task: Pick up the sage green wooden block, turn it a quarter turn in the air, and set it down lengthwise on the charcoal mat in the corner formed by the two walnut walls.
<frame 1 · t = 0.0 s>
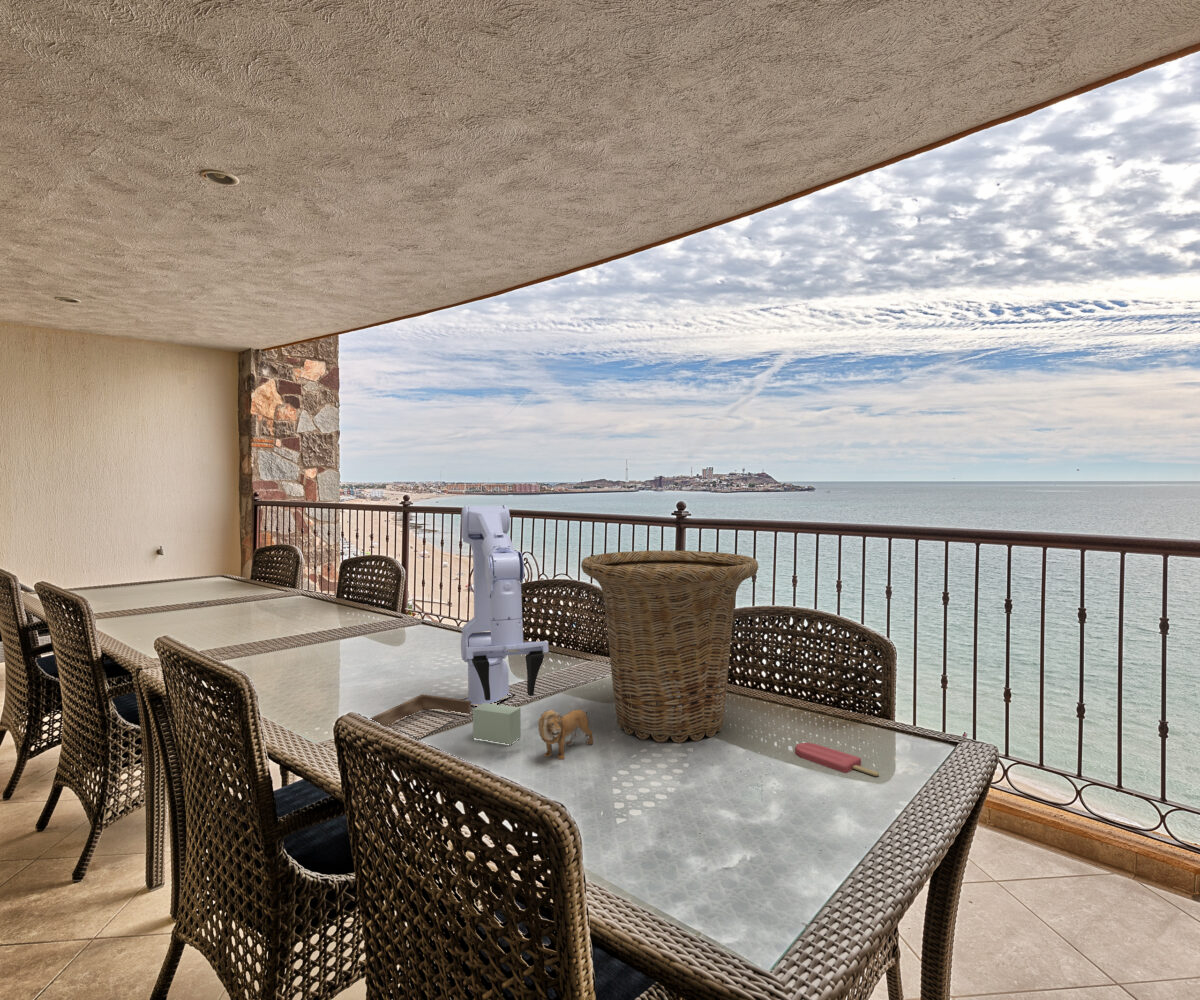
hand: (509, 697, 117), 11 cm above the table, tool pointing down, fingers open, 7 cm apart
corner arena: (423, 727, 132), on the table
wicker basket: (669, 724, 133), on the table
popsicle: (835, 766, 114), on the table
lion figurine: (566, 753, 119), on the table
sage block: (497, 739, 125), on the table
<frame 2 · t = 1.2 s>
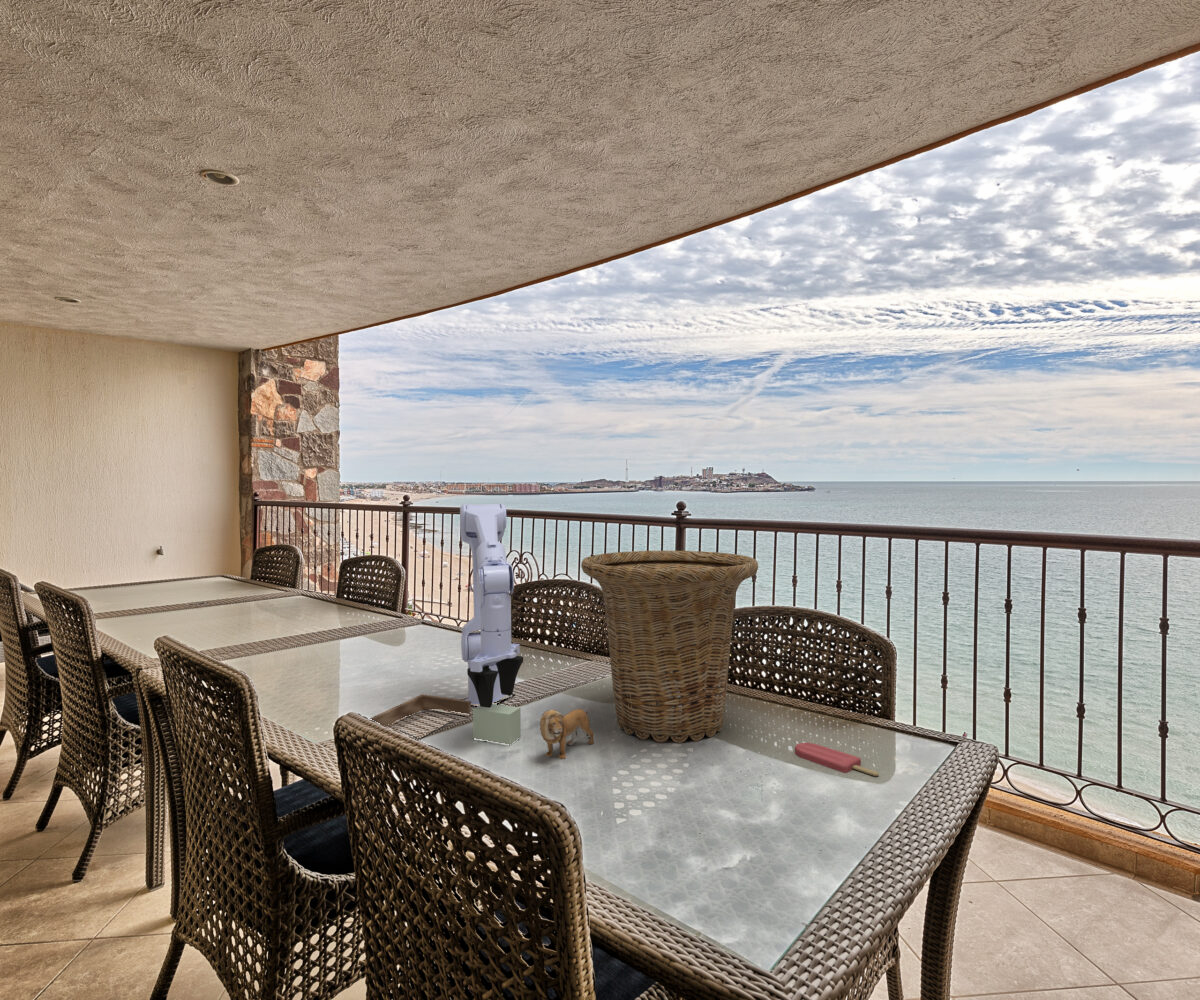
hand: (496, 700, 125), 7 cm above the table, tool pointing down, fingers open, 7 cm apart
nothing on the table moved.
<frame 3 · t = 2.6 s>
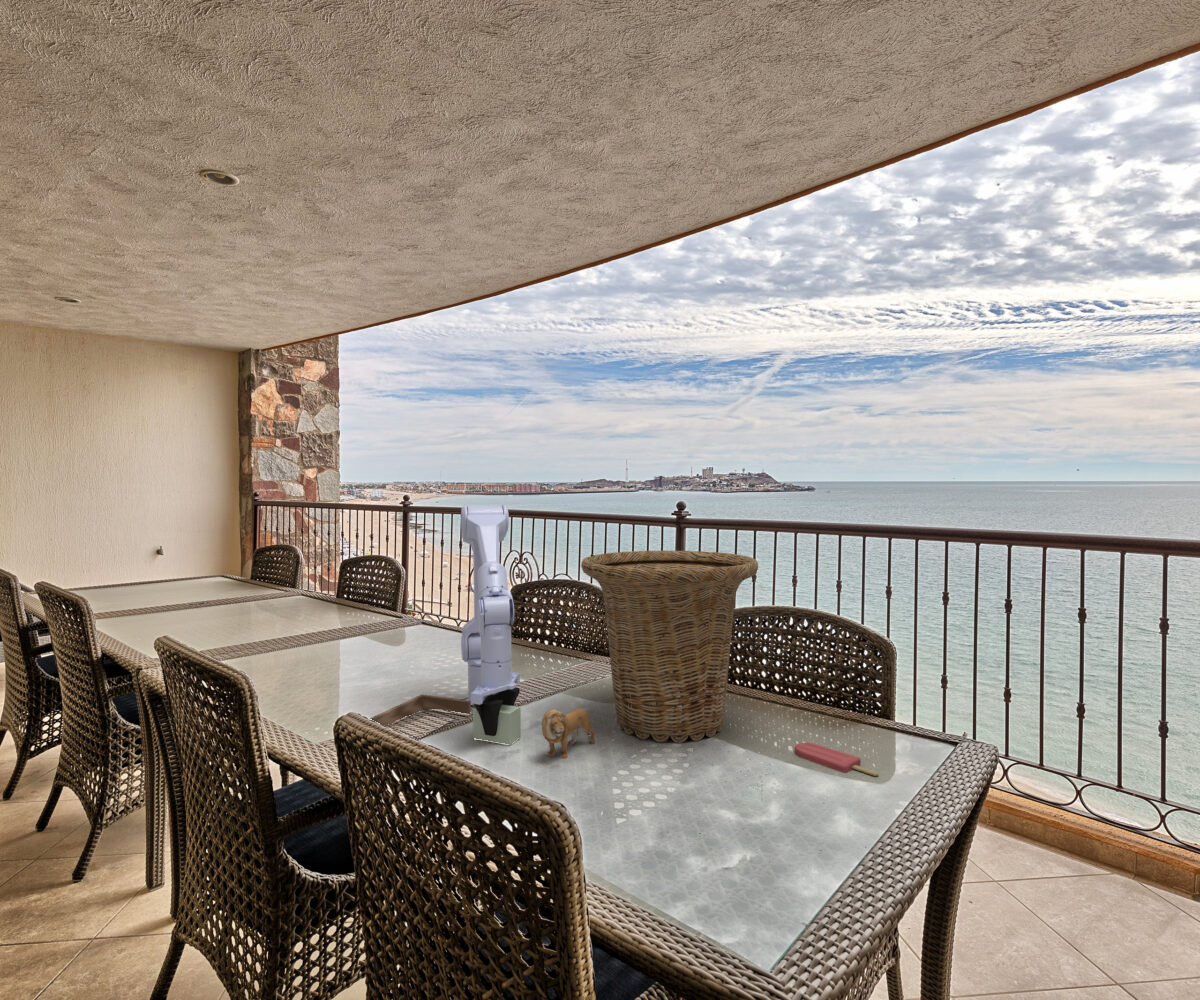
hand: (496, 730, 125), 2 cm above the table, tool pointing down, fingers closed on sage block, 4 cm apart
sage block: (497, 739, 125), on the table, touching gripper
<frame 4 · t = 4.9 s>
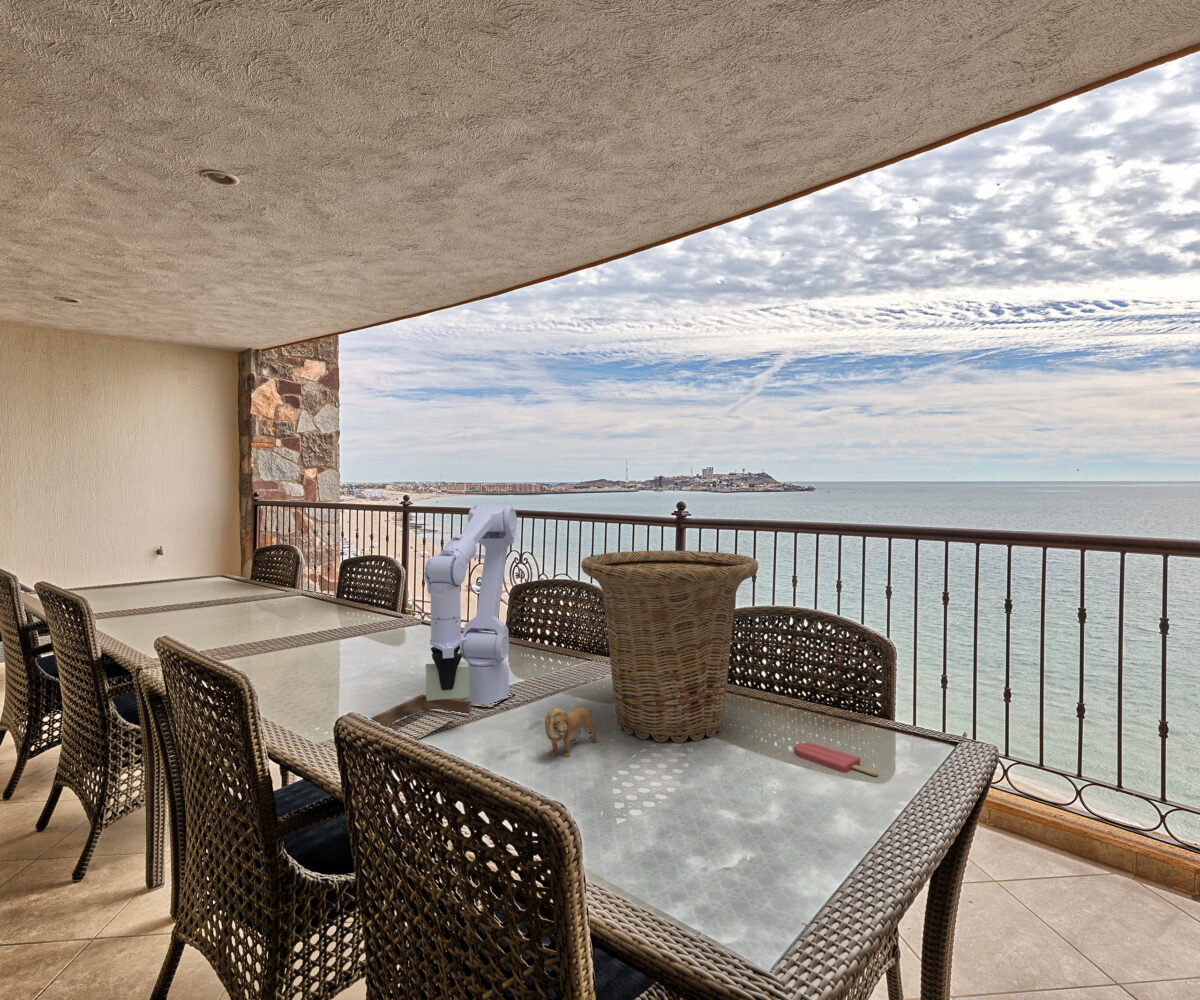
hand: (446, 686, 130), 9 cm above the table, tool pointing down, fingers closed on sage block, 4 cm apart
sage block: (447, 695, 130), point 7 cm above the table, touching gripper
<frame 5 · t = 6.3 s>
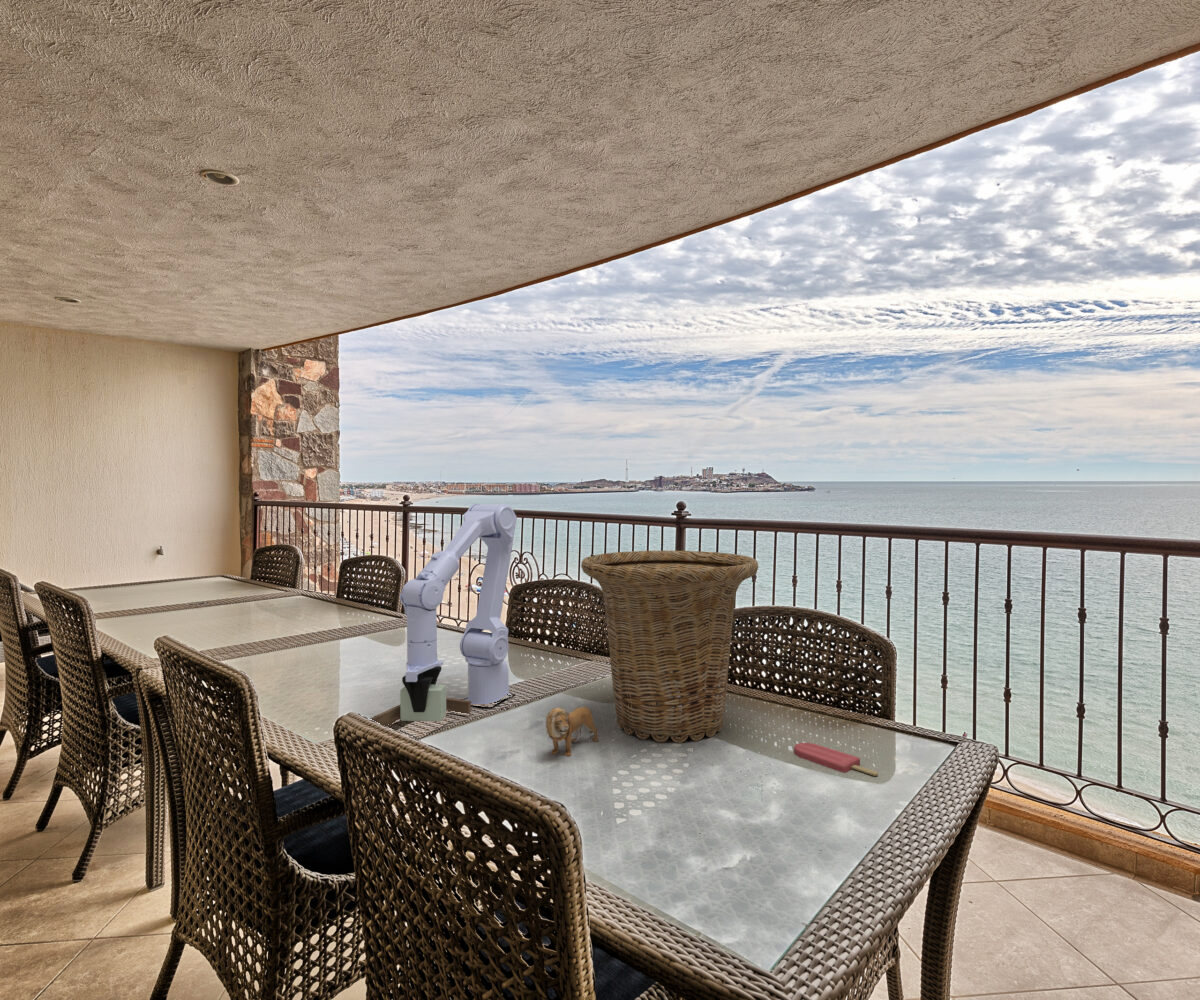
hand: (422, 707, 132), 4 cm above the table, tool pointing down, fingers closed on sage block, 4 cm apart
sage block: (423, 717, 132), point 2 cm above the table, touching gripper
when the fingers open (3 cm above the table, at t = 7.3 s): sage block stays where it is, resting on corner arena.
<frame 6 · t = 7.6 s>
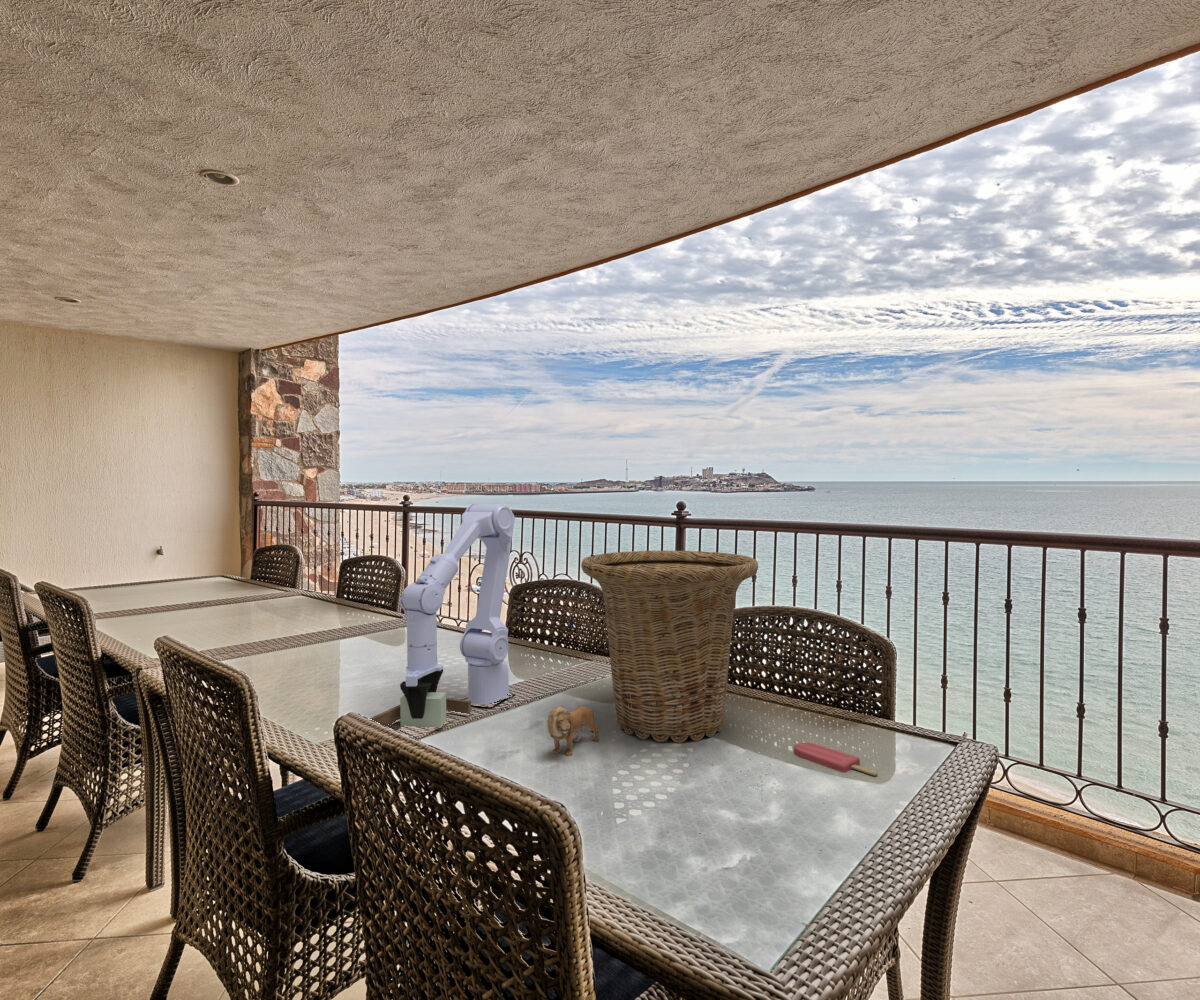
hand: (422, 711, 132), 3 cm above the table, tool pointing down, fingers open, 6 cm apart
sage block: (423, 725, 132), resting on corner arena
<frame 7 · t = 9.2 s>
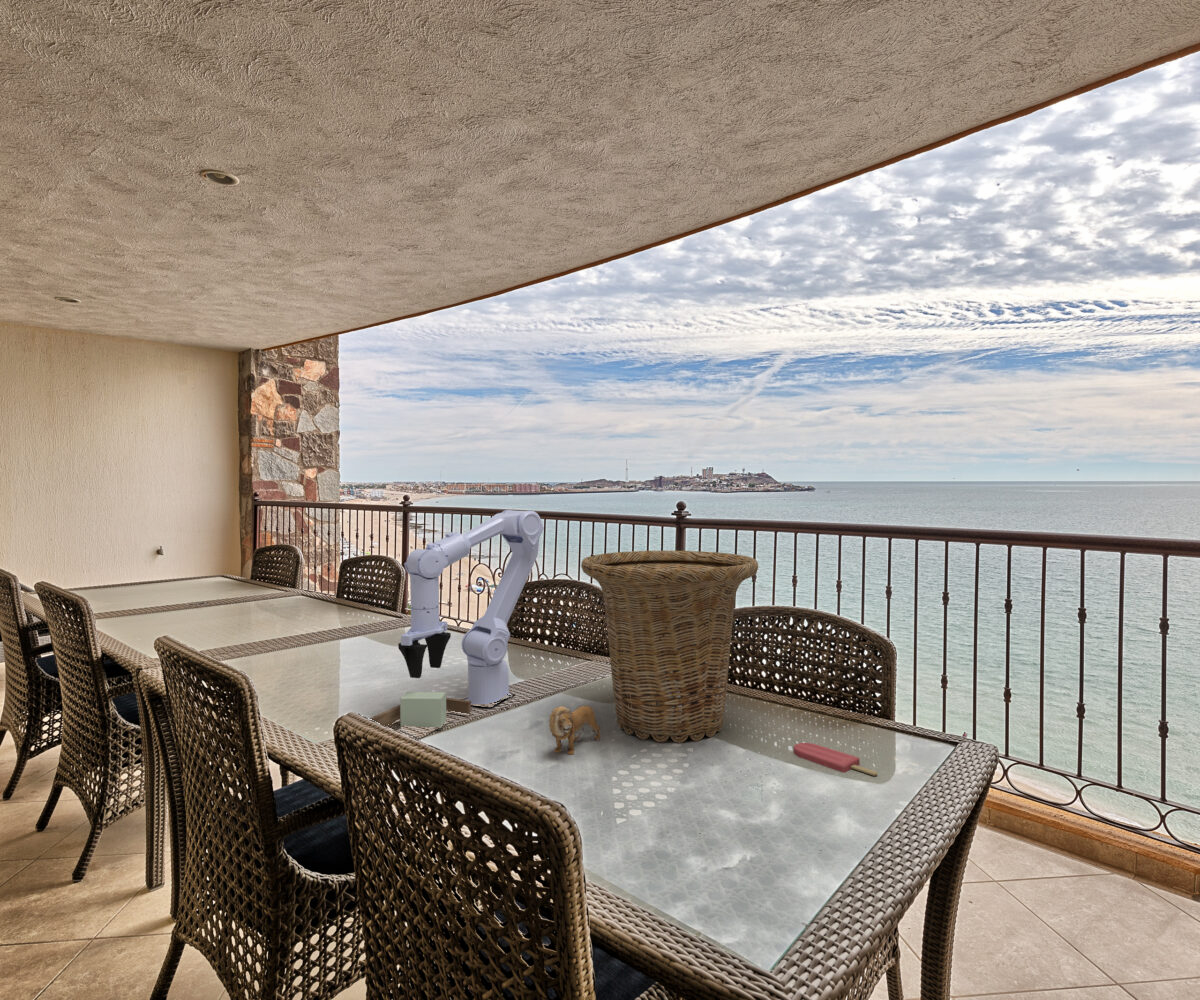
hand: (425, 672, 138), 9 cm above the table, tool pointing down, fingers open, 7 cm apart
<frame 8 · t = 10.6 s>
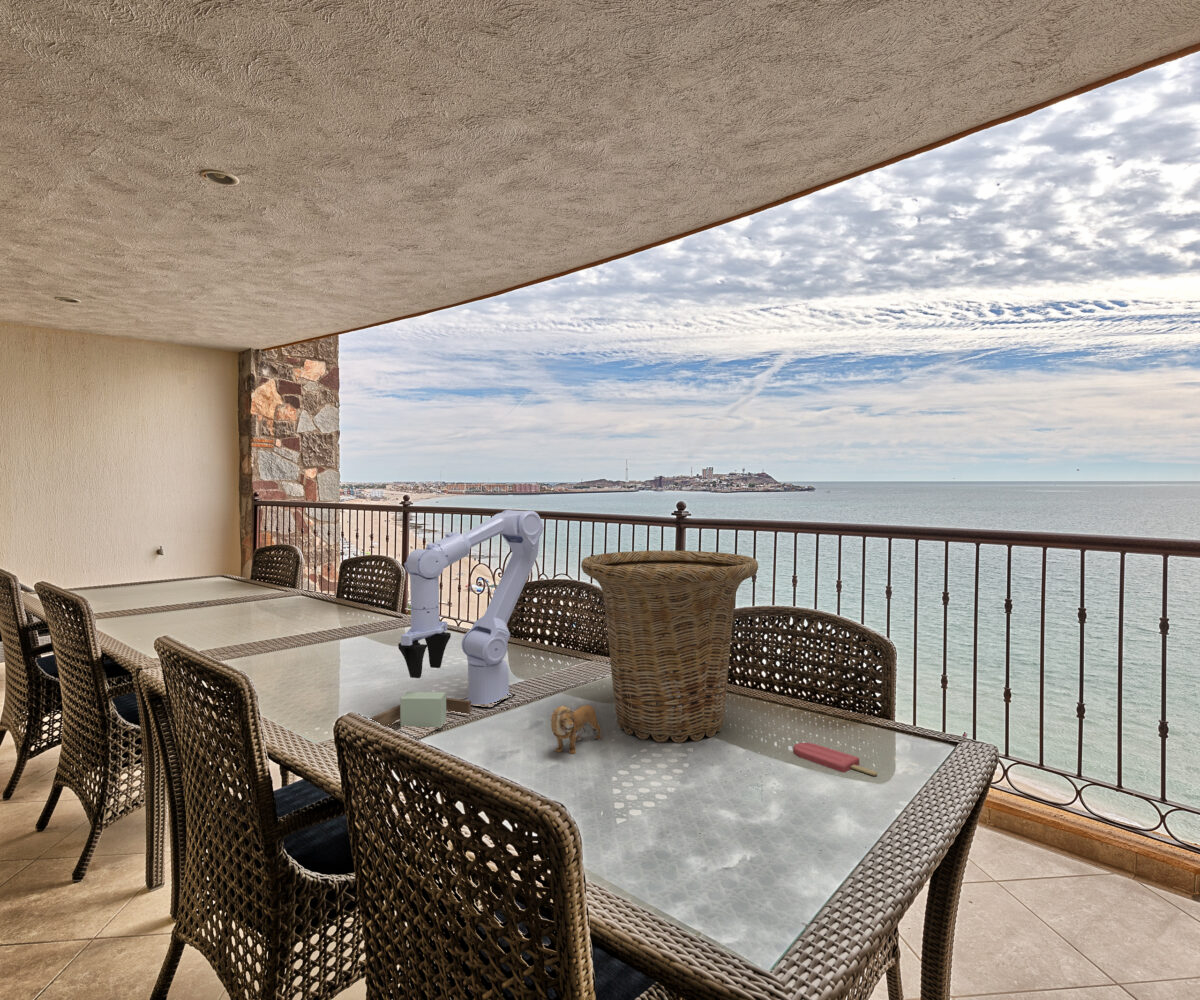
hand: (425, 672, 138), 9 cm above the table, tool pointing down, fingers open, 7 cm apart
at the end: sage block 0.2 cm off-centre on the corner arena, point 0.4 cm above the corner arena's base; sage block tilted 0°; the gripper is holding nothing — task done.
